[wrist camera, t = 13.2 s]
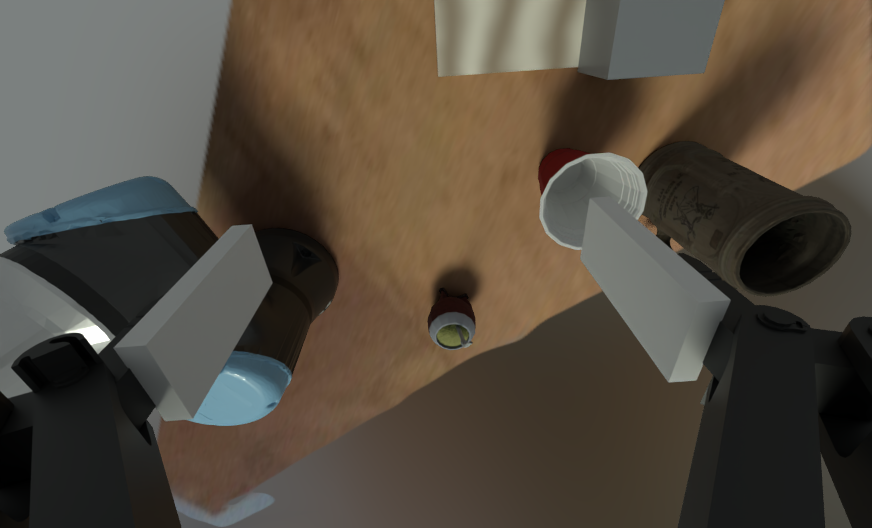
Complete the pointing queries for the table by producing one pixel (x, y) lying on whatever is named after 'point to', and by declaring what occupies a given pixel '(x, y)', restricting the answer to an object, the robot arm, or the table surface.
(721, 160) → the beer stein
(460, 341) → the mate gourd
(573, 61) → the cream cloth mat
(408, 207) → the table surface
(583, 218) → the plastic cup
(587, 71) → the gray cube
